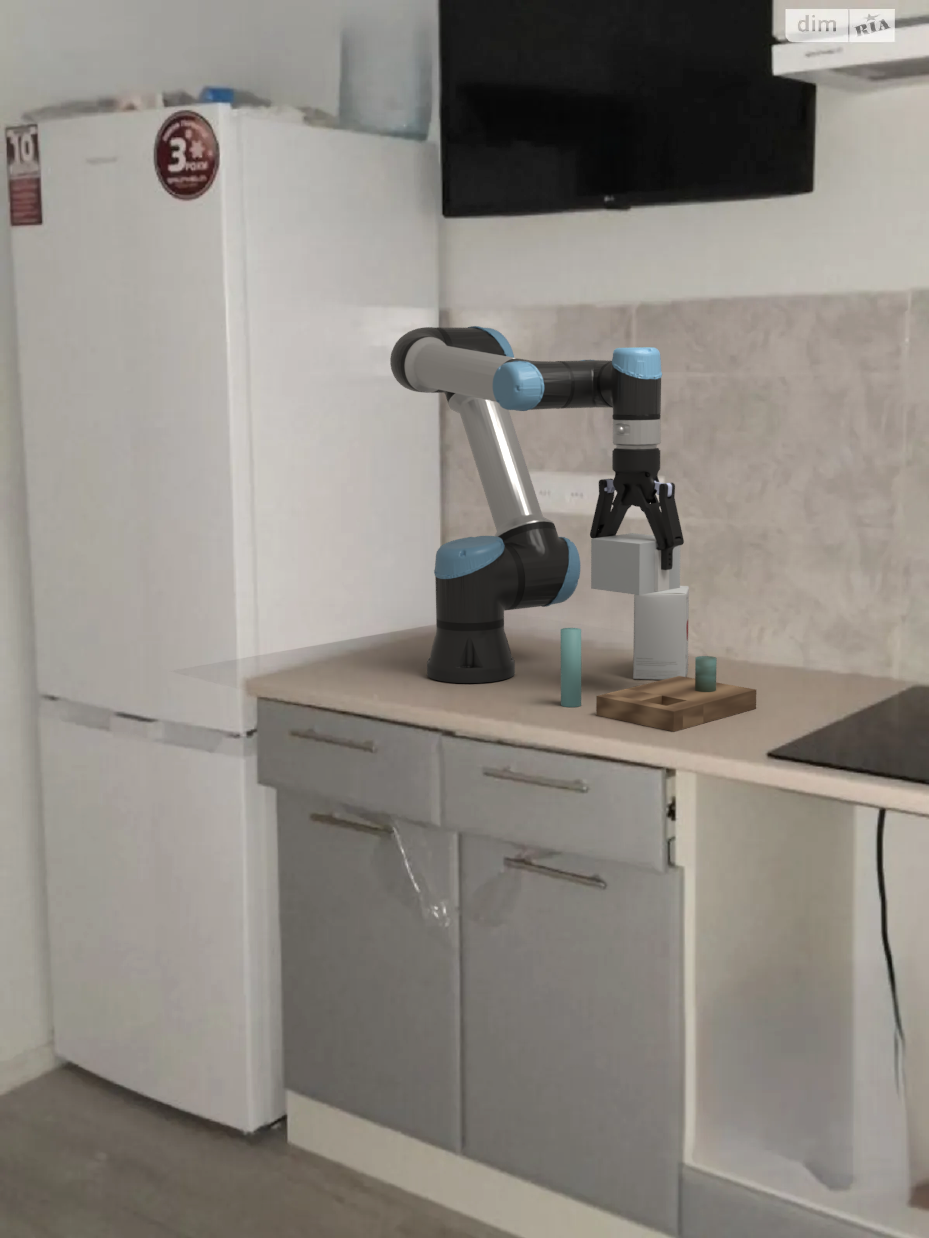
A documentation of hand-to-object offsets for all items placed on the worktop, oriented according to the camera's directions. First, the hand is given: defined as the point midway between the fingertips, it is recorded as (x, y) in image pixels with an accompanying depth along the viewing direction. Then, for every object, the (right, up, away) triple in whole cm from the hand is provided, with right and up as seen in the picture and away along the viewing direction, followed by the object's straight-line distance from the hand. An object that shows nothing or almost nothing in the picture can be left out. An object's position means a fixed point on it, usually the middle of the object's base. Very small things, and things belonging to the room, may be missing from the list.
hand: (635, 586), depth 243 cm
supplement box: (+6, -15, +17) cm, 23 cm away
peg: (-11, -19, -4) cm, 22 cm away
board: (+5, -19, -10) cm, 22 cm away
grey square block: (0, 0, 0) cm, 0 cm away
